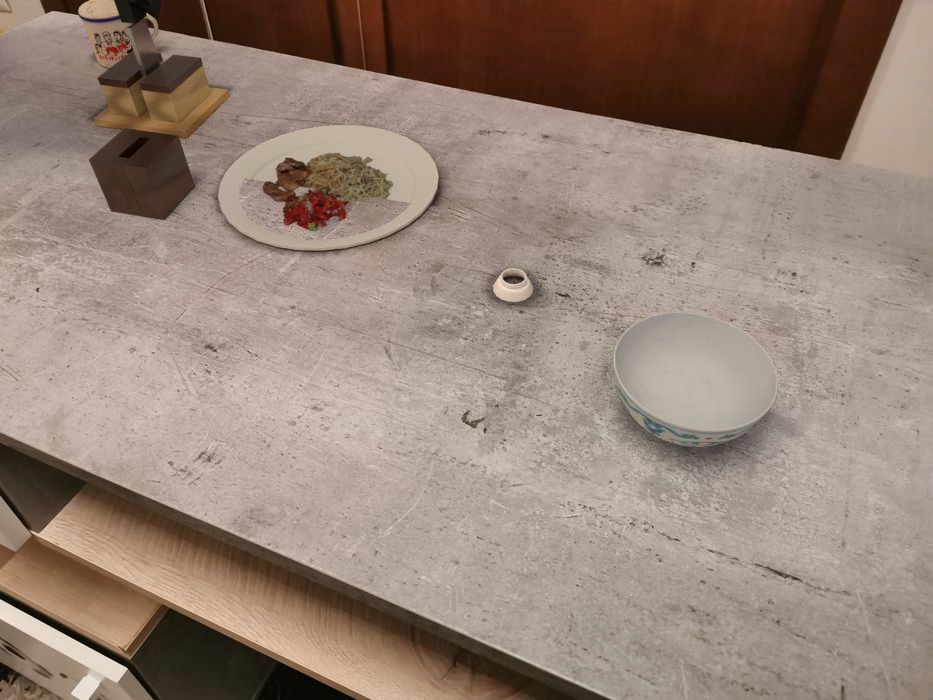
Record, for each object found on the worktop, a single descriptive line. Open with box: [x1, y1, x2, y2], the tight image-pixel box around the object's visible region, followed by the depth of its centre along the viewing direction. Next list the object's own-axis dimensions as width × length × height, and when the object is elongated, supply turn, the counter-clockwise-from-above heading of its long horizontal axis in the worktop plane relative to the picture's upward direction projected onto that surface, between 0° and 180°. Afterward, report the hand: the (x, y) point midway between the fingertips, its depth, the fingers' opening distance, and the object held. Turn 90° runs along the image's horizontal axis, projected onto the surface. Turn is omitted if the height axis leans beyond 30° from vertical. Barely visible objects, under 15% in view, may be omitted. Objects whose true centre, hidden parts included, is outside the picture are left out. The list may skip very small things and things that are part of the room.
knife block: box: [88, 128, 196, 221], centre depth 96 cm, size 8×8×9 cm
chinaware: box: [612, 311, 779, 448], centre depth 71 cm, size 15×15×8 cm
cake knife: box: [114, 0, 160, 79], centre depth 108 cm, size 2×4×20 cm, turn 166°
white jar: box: [492, 267, 534, 303], centre depth 85 cm, size 5×3×5 cm
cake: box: [92, 51, 230, 139], centre depth 115 cm, size 16×14×7 cm
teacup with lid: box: [77, 0, 159, 69], centre depth 127 cm, size 12×9×12 cm
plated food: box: [217, 124, 439, 251], centre depth 100 cm, size 30×30×3 cm
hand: (148, 8), depth 110 cm, fingers closed on cake knife, 2 cm apart
